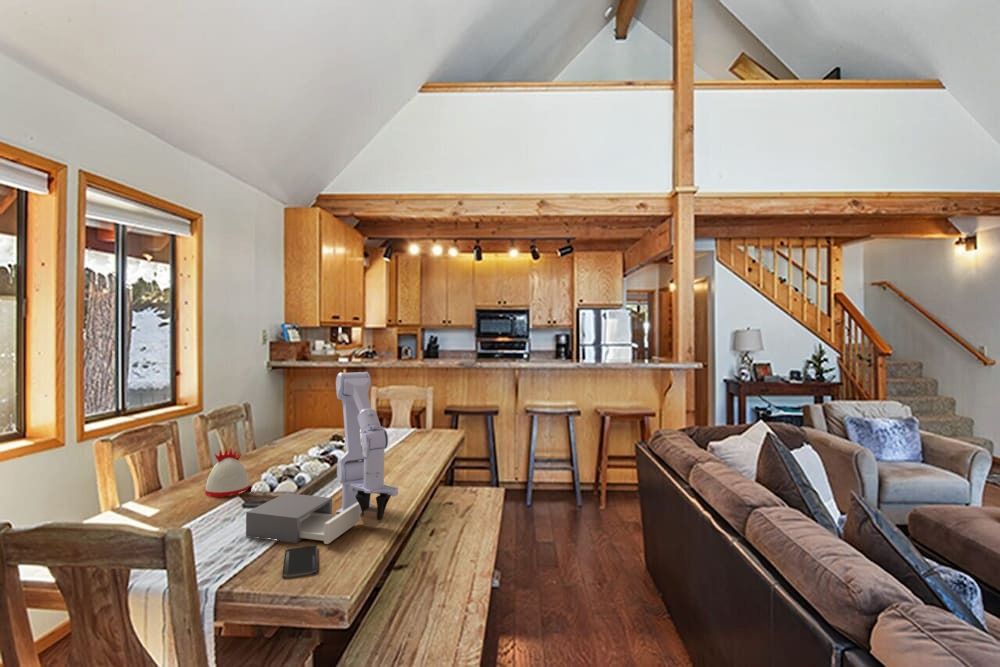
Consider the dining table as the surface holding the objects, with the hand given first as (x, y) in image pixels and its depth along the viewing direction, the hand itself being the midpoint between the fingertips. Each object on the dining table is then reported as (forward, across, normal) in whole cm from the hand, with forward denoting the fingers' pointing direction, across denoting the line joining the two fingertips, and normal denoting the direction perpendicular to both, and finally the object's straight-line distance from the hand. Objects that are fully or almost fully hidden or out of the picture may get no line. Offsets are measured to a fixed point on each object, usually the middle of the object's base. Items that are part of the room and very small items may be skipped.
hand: (373, 518), depth 147 cm
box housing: (+3, -23, -6) cm, 24 cm away
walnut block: (+2, 0, 0) cm, 2 cm away
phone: (+4, -7, -24) cm, 25 cm away
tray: (+2, -13, -6) cm, 15 cm away
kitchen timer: (+4, -65, +17) cm, 67 cm away
